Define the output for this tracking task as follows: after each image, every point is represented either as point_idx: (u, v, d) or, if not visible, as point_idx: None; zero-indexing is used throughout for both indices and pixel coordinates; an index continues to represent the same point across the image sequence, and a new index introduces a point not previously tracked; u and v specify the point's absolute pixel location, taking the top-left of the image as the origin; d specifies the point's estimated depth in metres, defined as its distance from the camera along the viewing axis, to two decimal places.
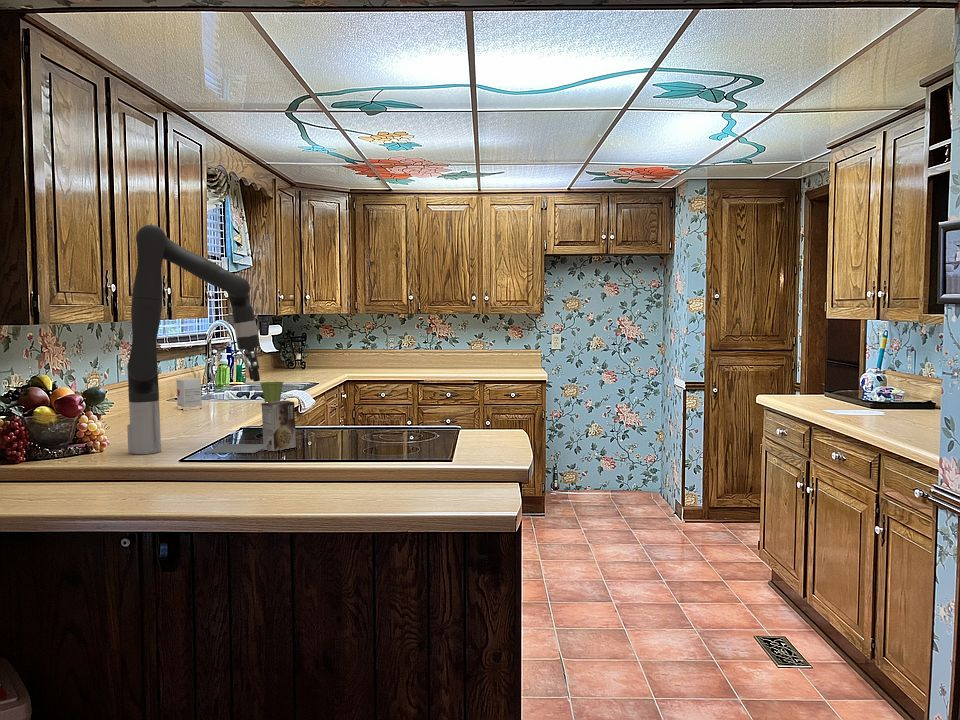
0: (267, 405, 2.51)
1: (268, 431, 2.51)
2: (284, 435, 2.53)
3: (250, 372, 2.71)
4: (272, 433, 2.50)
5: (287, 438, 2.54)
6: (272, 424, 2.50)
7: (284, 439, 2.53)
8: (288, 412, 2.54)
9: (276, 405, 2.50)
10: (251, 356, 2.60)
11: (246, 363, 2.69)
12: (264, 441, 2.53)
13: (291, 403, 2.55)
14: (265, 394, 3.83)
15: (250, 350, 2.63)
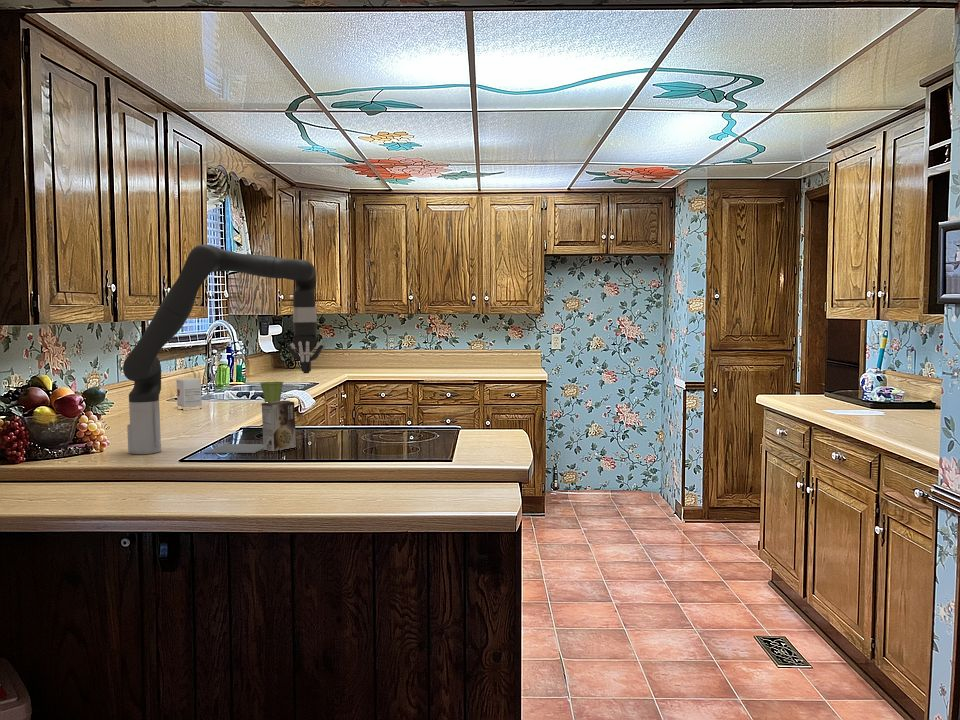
0: (267, 405, 2.51)
1: (268, 431, 2.51)
2: (284, 435, 2.53)
3: None
4: (272, 433, 2.50)
5: (287, 438, 2.54)
6: (272, 424, 2.50)
7: (284, 439, 2.53)
8: (288, 412, 2.54)
9: (276, 405, 2.50)
10: (321, 349, 2.52)
11: (303, 352, 2.51)
12: (264, 441, 2.53)
13: (291, 403, 2.55)
14: (265, 394, 3.83)
15: (316, 337, 2.52)
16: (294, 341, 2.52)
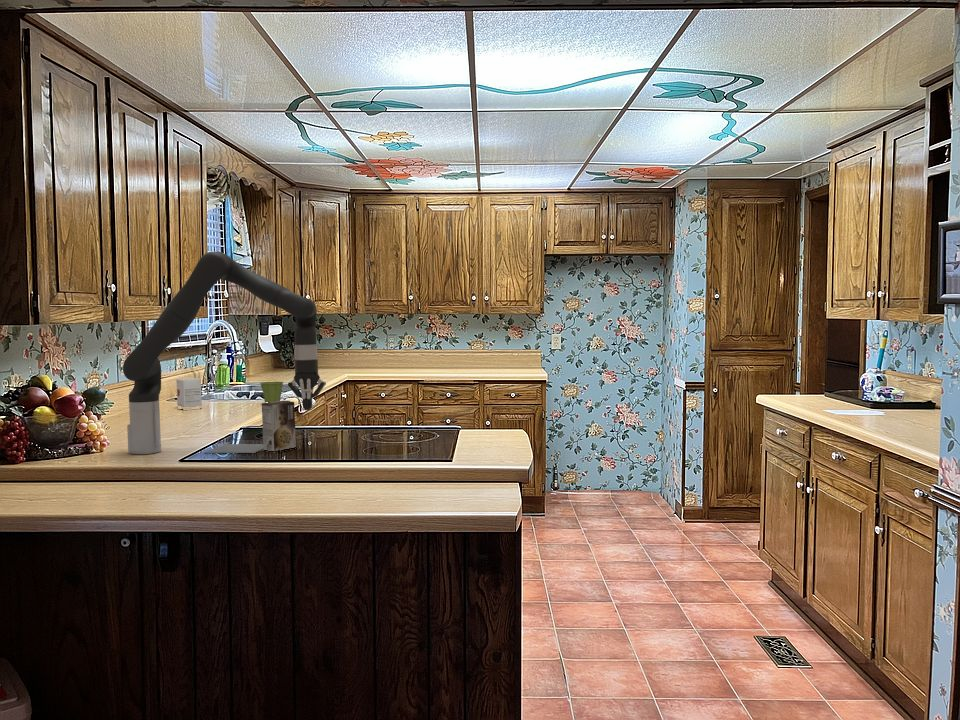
0: (267, 405, 2.51)
1: (268, 431, 2.51)
2: (284, 435, 2.53)
3: (306, 402, 2.53)
4: (272, 433, 2.50)
5: (287, 438, 2.54)
6: (272, 424, 2.50)
7: (284, 439, 2.53)
8: (288, 412, 2.54)
9: (276, 405, 2.50)
10: (322, 387, 2.52)
11: (304, 389, 2.52)
12: (264, 441, 2.53)
13: (291, 403, 2.55)
14: (265, 394, 3.83)
15: (317, 374, 2.53)
16: (295, 378, 2.52)
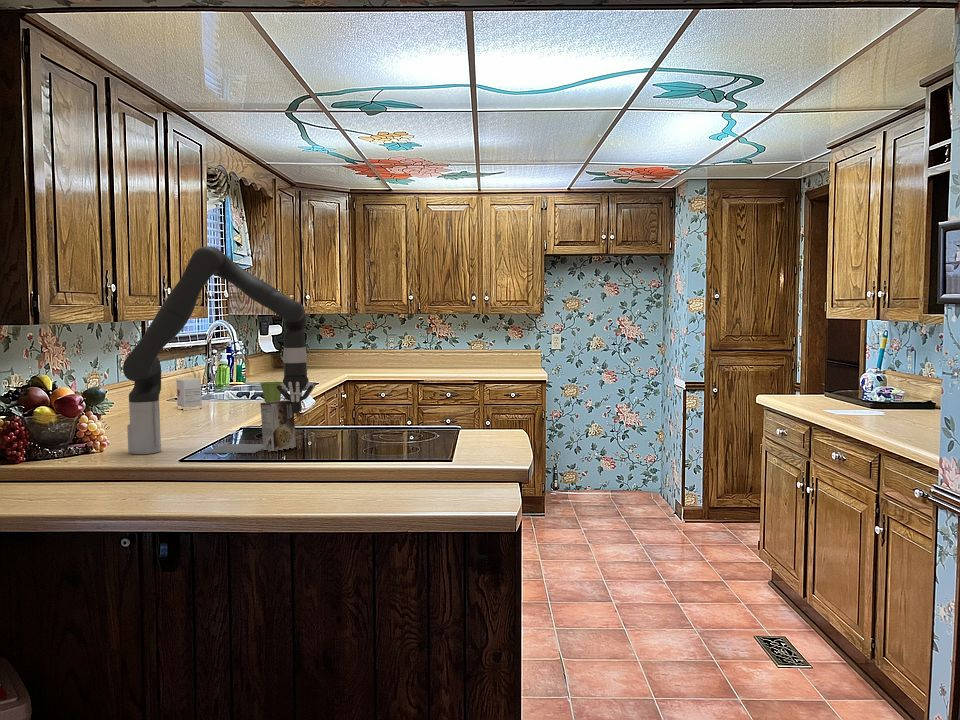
0: (266, 404, 2.51)
1: (268, 430, 2.51)
2: (283, 434, 2.53)
3: None
4: (271, 432, 2.50)
5: (286, 437, 2.54)
6: (271, 423, 2.50)
7: (284, 438, 2.53)
8: (287, 411, 2.54)
9: (275, 404, 2.51)
10: (311, 389, 2.53)
11: (293, 392, 2.52)
12: (263, 441, 2.54)
13: (290, 402, 2.55)
14: (265, 394, 3.83)
15: (306, 377, 2.53)
16: (284, 381, 2.53)
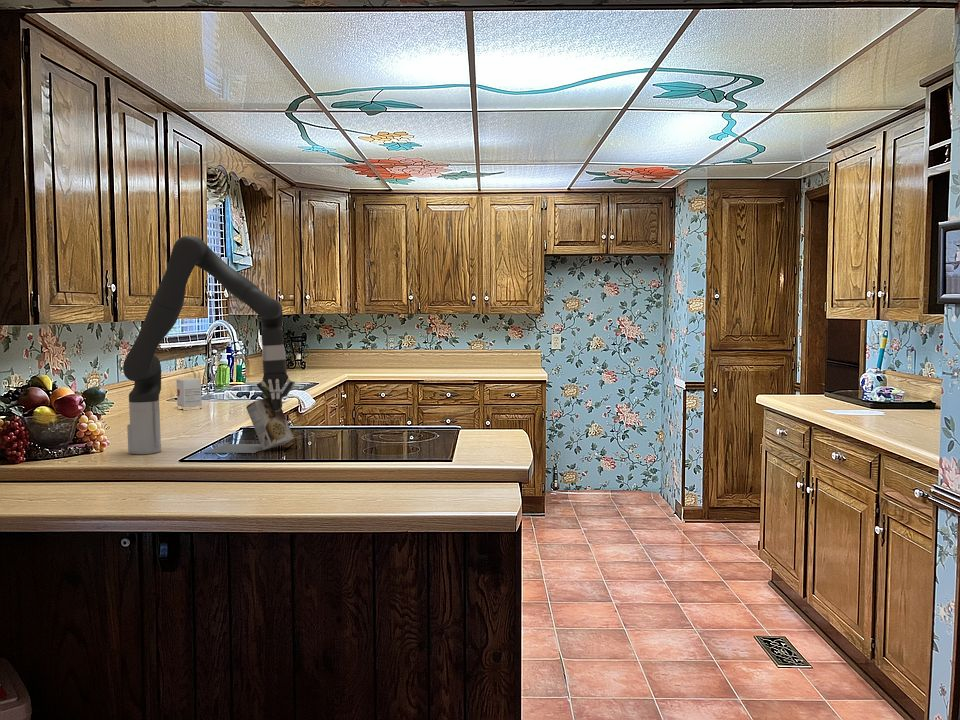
0: (251, 405, 2.54)
1: (260, 428, 2.53)
2: (276, 427, 2.54)
3: None
4: (264, 428, 2.51)
5: (280, 430, 2.55)
6: (261, 419, 2.52)
7: (278, 431, 2.54)
8: None
9: (258, 401, 2.53)
10: (291, 386, 2.54)
11: (273, 389, 2.53)
12: (260, 441, 2.54)
13: None
14: None
15: (285, 374, 2.54)
16: (264, 379, 2.54)
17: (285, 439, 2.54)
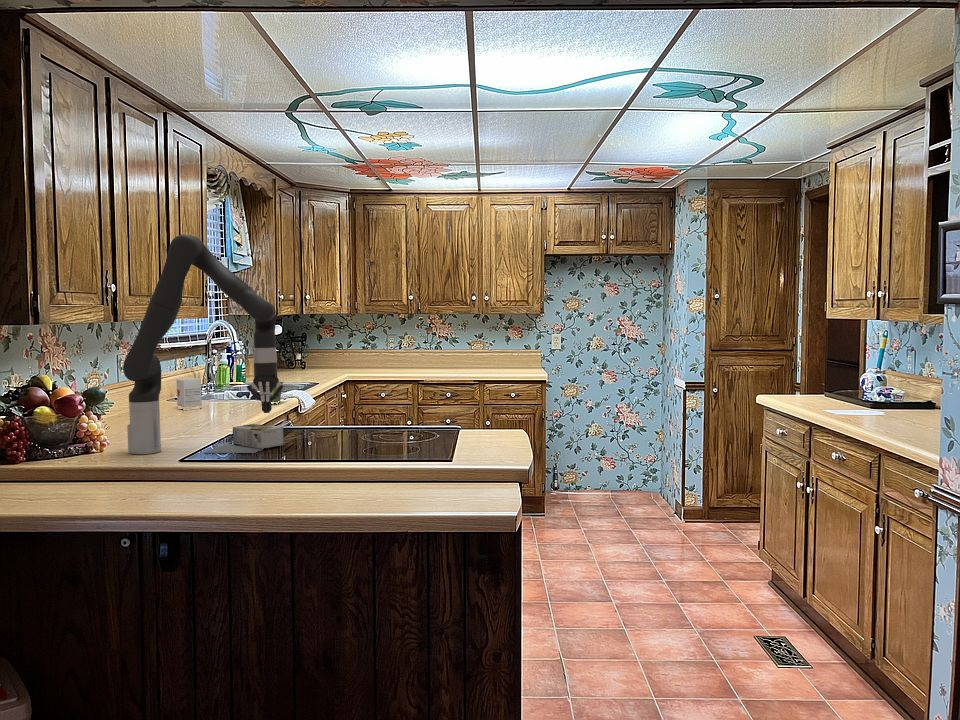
0: (233, 434, 2.63)
1: (248, 436, 2.58)
2: (261, 427, 2.60)
3: (265, 405, 2.54)
4: (249, 431, 2.57)
5: (266, 427, 2.60)
6: (244, 429, 2.59)
7: (264, 427, 2.59)
8: (252, 425, 2.66)
9: (236, 426, 2.64)
10: (281, 389, 2.54)
11: (263, 392, 2.53)
12: (256, 446, 2.56)
13: (251, 424, 2.68)
14: None
15: (276, 377, 2.54)
16: (254, 381, 2.54)
17: (274, 428, 2.58)
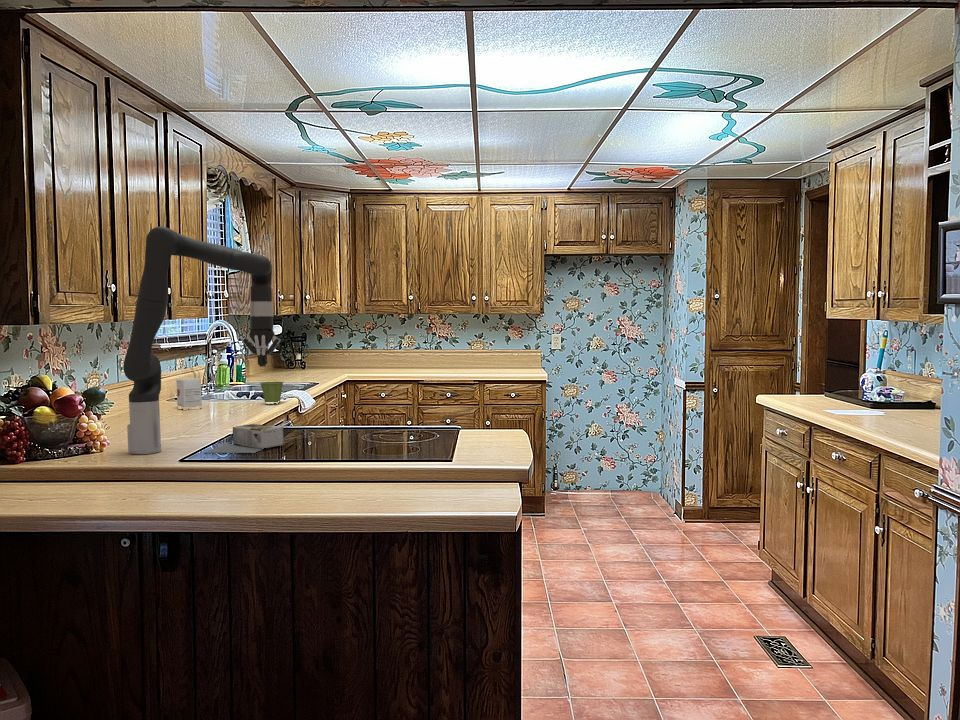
0: (233, 434, 2.63)
1: (248, 436, 2.58)
2: (261, 427, 2.60)
3: None
4: (249, 431, 2.57)
5: (266, 427, 2.60)
6: (244, 429, 2.59)
7: (264, 427, 2.59)
8: (252, 425, 2.66)
9: (236, 426, 2.64)
10: (277, 343, 2.56)
11: (259, 345, 2.56)
12: (256, 446, 2.56)
13: (251, 424, 2.68)
14: (265, 394, 3.83)
15: (272, 331, 2.57)
16: (250, 335, 2.56)
17: (274, 428, 2.58)
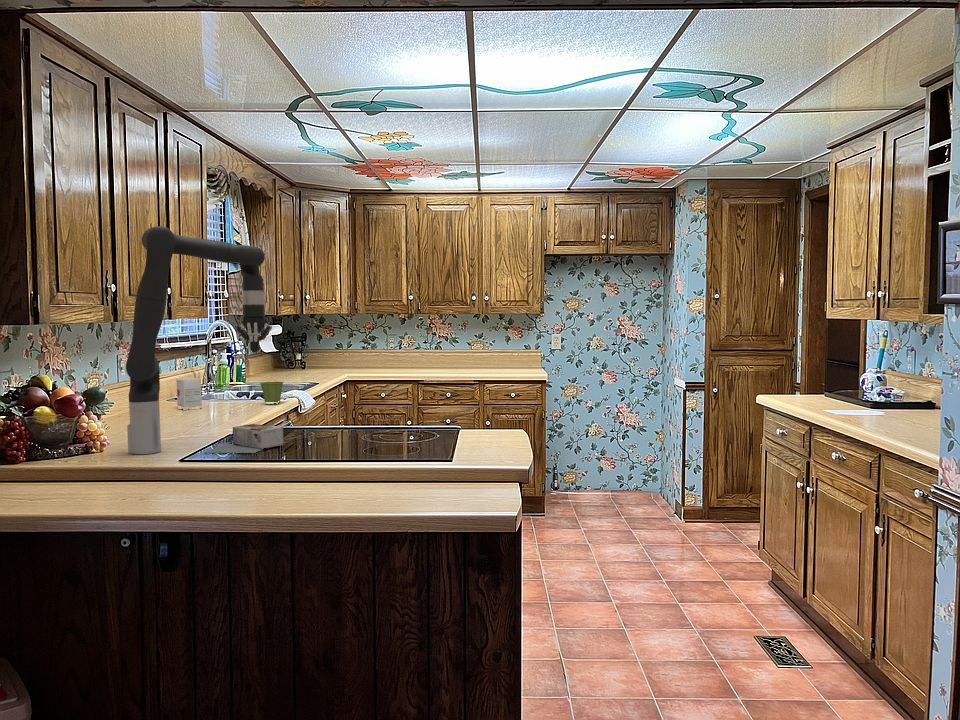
0: (233, 434, 2.63)
1: (248, 436, 2.58)
2: (261, 427, 2.60)
3: None
4: (249, 431, 2.57)
5: (266, 427, 2.60)
6: (244, 429, 2.59)
7: (264, 427, 2.59)
8: (252, 425, 2.66)
9: (236, 426, 2.64)
10: (268, 330, 2.70)
11: (251, 332, 2.70)
12: (256, 446, 2.56)
13: (251, 424, 2.68)
14: (265, 394, 3.83)
15: (264, 318, 2.70)
16: (243, 322, 2.70)
17: (274, 428, 2.58)
